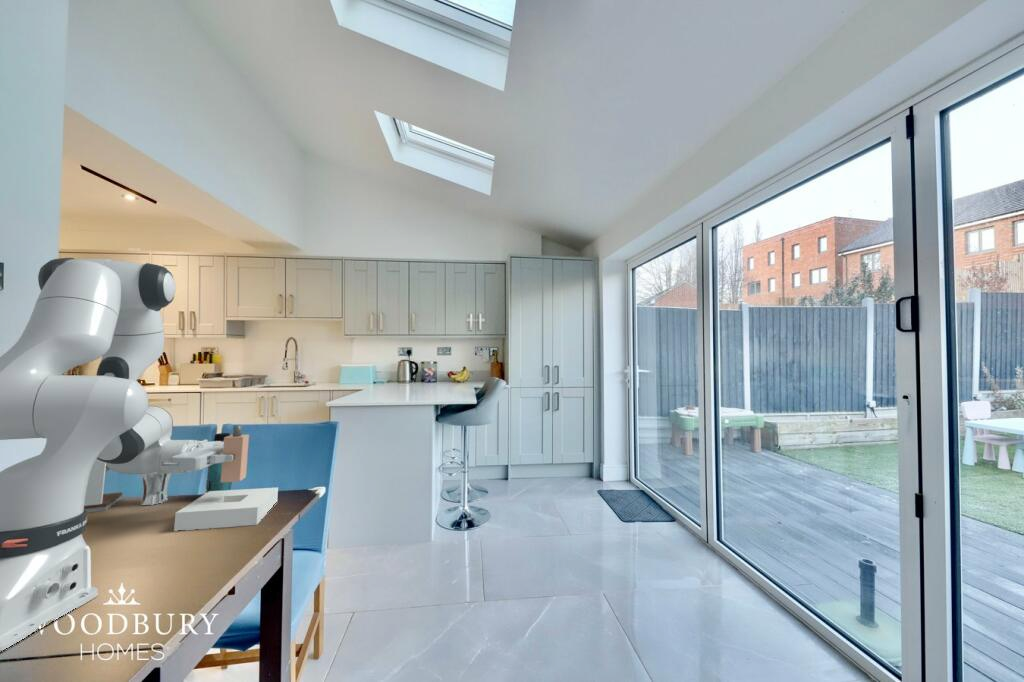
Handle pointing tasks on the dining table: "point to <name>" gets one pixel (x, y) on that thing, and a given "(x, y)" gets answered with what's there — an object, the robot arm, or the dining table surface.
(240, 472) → the plug
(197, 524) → the socket
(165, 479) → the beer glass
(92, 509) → the display case
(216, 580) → the dining table surface
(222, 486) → the beverage bottle
